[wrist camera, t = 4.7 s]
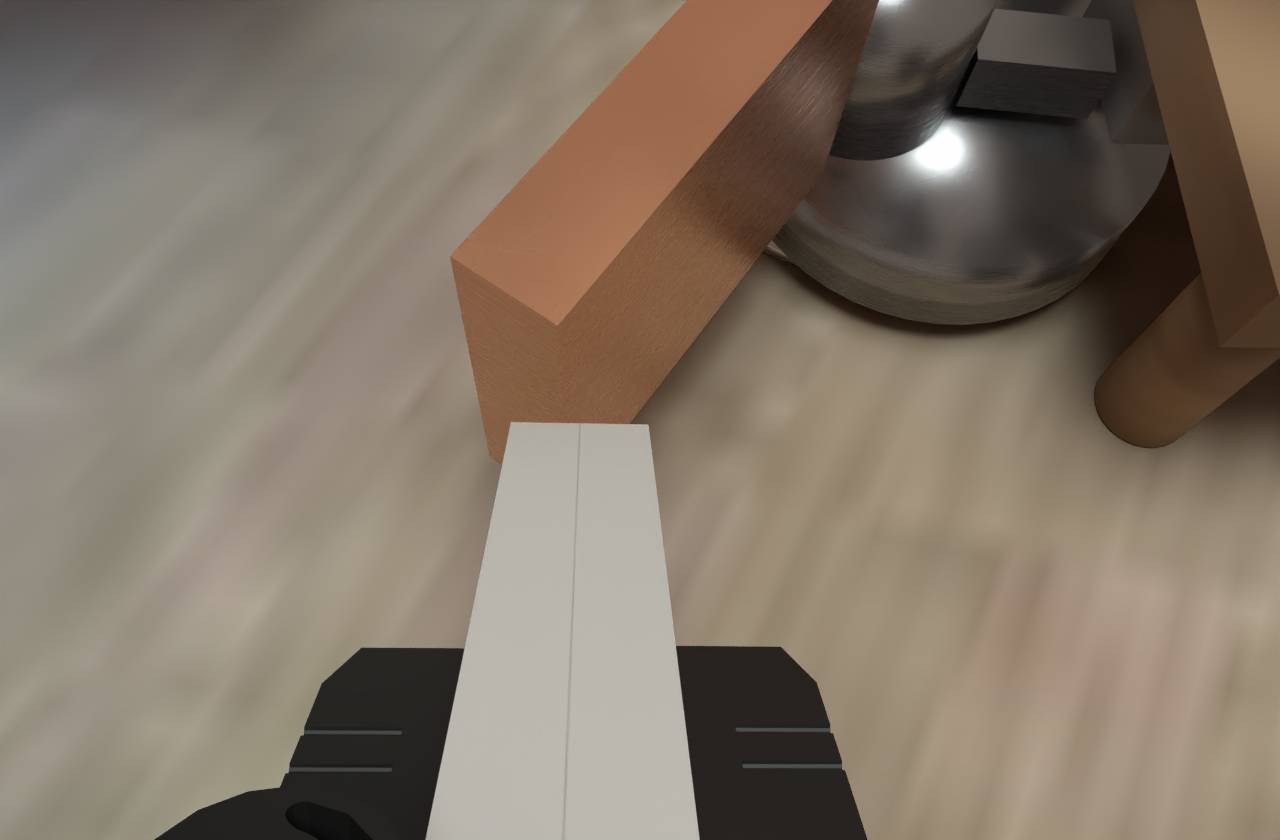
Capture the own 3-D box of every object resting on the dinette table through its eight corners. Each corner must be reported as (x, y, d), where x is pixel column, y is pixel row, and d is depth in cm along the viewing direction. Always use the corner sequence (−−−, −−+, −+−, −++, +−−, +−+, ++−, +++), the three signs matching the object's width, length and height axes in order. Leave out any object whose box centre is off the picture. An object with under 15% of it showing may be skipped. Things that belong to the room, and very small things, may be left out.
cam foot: (797, -82, 25) (886, -488, 18) (1185, 122, 23) (1461, -240, 16) (354, 408, 19) (220, 109, 12) (817, 729, 17) (983, 599, 10)
